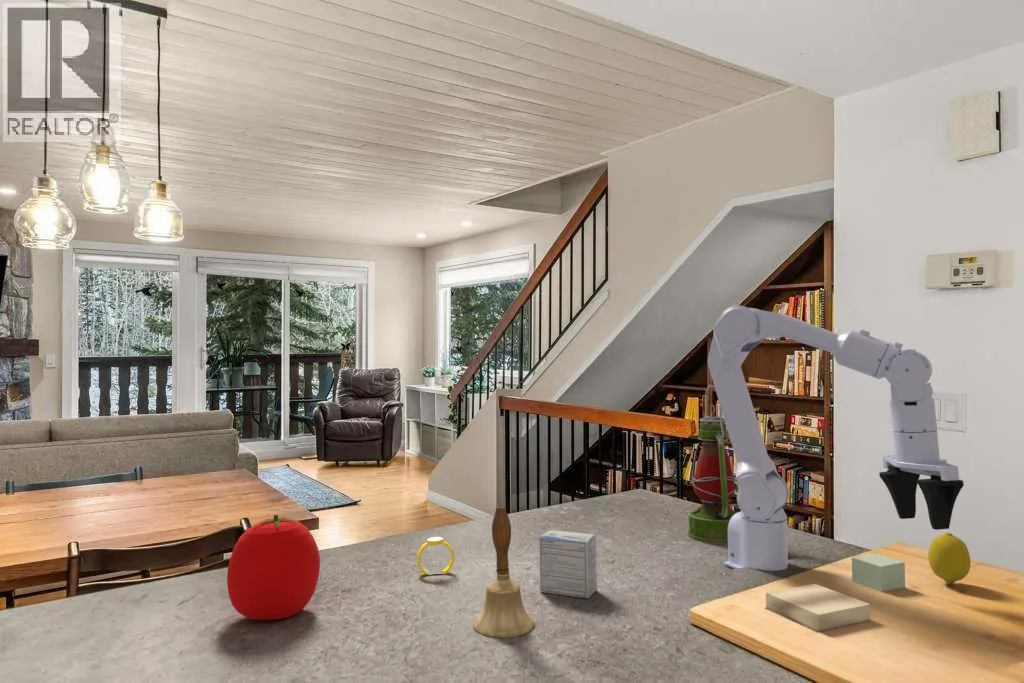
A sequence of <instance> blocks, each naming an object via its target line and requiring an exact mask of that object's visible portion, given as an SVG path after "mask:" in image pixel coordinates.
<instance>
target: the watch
mask: <svg viewBox="0 0 1024 683" xmlns="http://www.w3.org/2000/svg"><path fill="white" fill-rule="evenodd" d="M440 545H443V546H445V547H447V549H448V550H449V553H450V560H449V563H448V565H447V566H446V567H445V568H444V569H443V570H442V571H444V573H446V574H447V573H448V572H449V571H450V570H451V569H452V567H453V565H454V562H455V555H454V553H455V552H454V551H453V549H452V547H451V545H450V543H448V542H447V541H445V540H444V537H442V536H432V537H429V538H427V539H426V542H424V543H423V544H422V545H421V547H420V548H419V549H418V552H417V560H416V561H417V565H418V567H419V569H420V571H421V572H422V573H423V574H424V575H426V574H428V572H429V571H428V570H426V569H425V568H424V567H423V565H422V563H421V558H422V557H421V555H422V553H423V551H424V550H425V549H426V548H427V547H429V546H440Z"/></svg>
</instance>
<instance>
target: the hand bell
mask: <svg viewBox="0 0 1024 683" xmlns="http://www.w3.org/2000/svg"><path fill="white" fill-rule="evenodd" d="M491 535H492V536H491V537H492V542H493V545H494V546H493V547H494V550H495V555H496V571H495V572H496V579H495V580H493V581H492V582H489V583H488V584H487V586H486V592H485V600H484V604H483V608H482V610H481V612H480V613H479V614H478V615H477V617H475V618H474V621H473V624H472V628H473V629H474V632H477V633H479V634H480V635H482V636H485V637H491V638H498V639H499V638H500V639H501V638H503V639H505V638H506V639H507V638H514V637H519V636H520V637H521V636H522V635H526V634H528V633H530V632H531V631H532V630H533V629H534V628H535V621H534V618H533V617H532V616H531V615H530V614H529V613H528V612H527V610H526V609H525V606H524V603H523V600H522V594H521V588H520V585H519V583H518V582H516V581H513V580H512V579H511V577H510V576H511V575H510V568H509V549H510V544H511V539H512V524H511V521H510V517H509V515H508V512H507V508H506V506H503V505H498V506H495V511H494V515H493V518H492V523H491Z"/></svg>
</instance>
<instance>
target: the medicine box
mask: <svg viewBox="0 0 1024 683" xmlns="http://www.w3.org/2000/svg"><path fill="white" fill-rule="evenodd" d="M596 537H597V535H595V534H592V533H582V532H572V531H561V530H552V529H551V530H548V531H546V532H545V533H543V534H542V535H540V536H539V538H538V541H539V542H538V543H539V544H538V545H539V546H538V547H539V554H538V555H539V592H540V593H546V594H552V595H558V596H559V595H560V596H567V597H573V598H580V599H589V598H590V597H591V596H592V595H593V594H594V593H595V592H596V591H597V590H598V578H597V576H598V575H597V538H596Z"/></svg>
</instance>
